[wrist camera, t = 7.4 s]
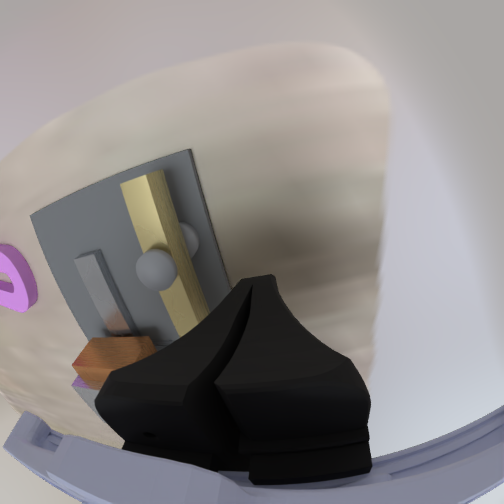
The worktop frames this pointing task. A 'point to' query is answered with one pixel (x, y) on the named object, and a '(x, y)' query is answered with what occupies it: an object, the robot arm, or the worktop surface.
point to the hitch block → (105, 313)
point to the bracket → (16, 280)
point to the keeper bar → (166, 246)
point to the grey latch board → (130, 247)
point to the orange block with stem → (111, 355)
